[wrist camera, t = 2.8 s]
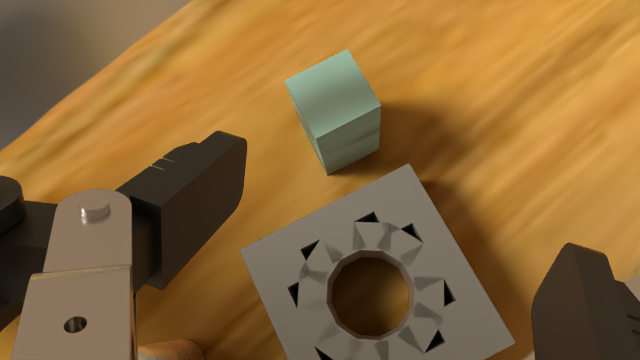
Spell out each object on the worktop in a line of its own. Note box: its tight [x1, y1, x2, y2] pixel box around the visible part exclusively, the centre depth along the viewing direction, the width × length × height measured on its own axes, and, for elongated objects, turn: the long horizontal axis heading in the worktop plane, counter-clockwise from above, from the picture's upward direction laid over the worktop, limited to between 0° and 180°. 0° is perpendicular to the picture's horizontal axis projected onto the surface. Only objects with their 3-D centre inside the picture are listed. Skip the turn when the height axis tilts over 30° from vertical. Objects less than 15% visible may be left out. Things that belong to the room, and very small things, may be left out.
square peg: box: [285, 49, 381, 175], centre depth 36 cm, size 5×5×9 cm
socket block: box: [240, 163, 516, 360], centre depth 34 cm, size 14×14×5 cm
